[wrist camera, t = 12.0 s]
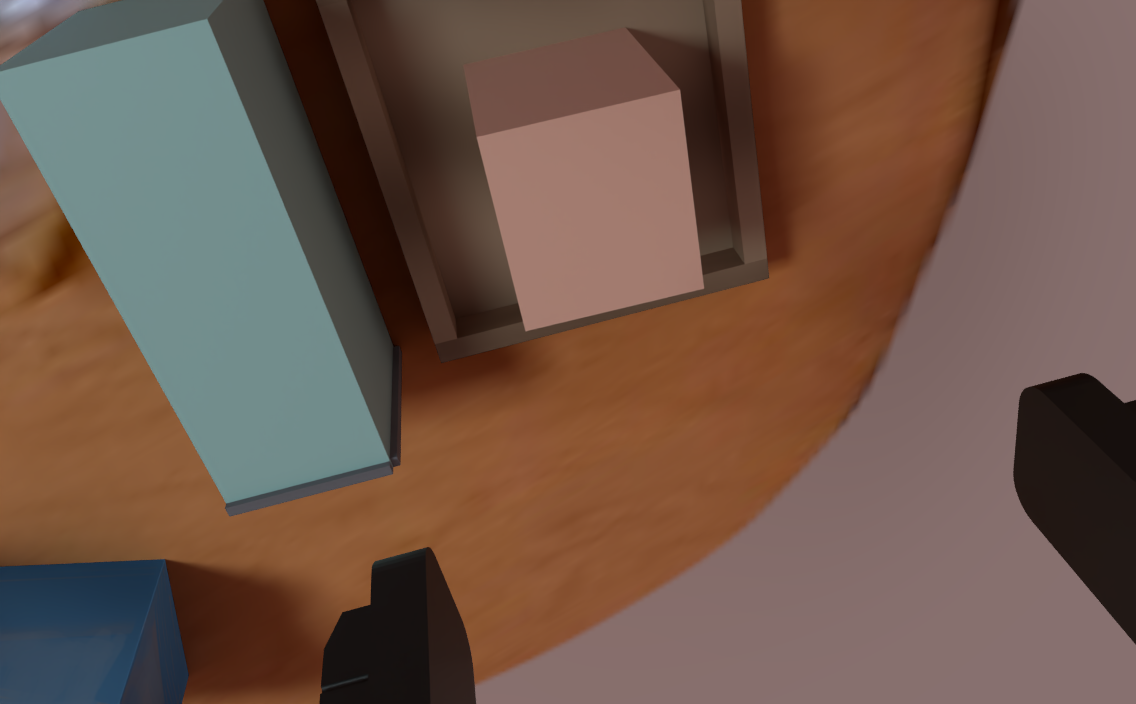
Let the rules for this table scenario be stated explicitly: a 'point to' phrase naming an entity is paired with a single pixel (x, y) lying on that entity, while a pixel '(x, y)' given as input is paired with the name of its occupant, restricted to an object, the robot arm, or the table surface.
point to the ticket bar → (217, 238)
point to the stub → (587, 176)
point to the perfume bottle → (90, 634)
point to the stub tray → (453, 160)
